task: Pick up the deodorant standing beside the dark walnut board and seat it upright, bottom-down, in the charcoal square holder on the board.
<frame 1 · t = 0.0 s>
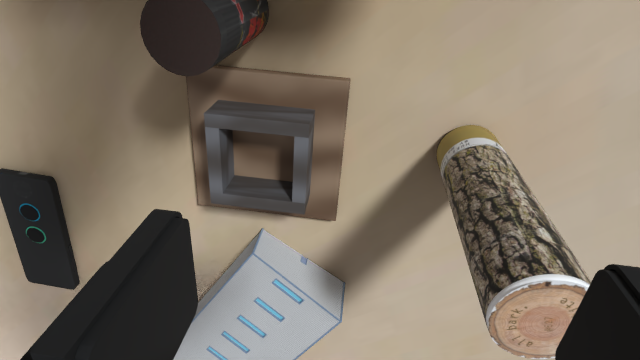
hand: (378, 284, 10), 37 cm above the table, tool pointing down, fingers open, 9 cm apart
deodorant: (241, 9, 42), on the table
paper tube: (465, 150, 47), on the table
holder: (268, 145, 49), on the table
warehouse: (250, 309, 64), on the table
smart home device: (46, 228, 61), on the table
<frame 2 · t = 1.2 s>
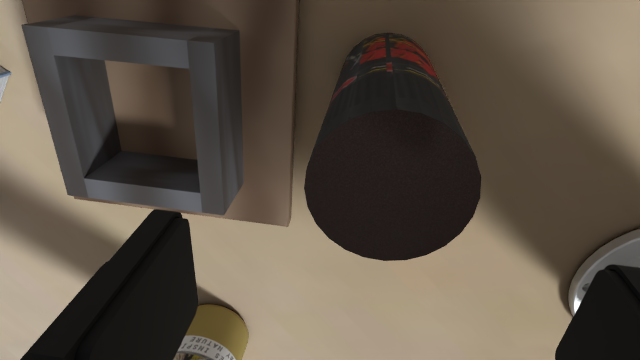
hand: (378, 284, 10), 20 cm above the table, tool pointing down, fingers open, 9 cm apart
deodorant: (385, 79, 27), on the table
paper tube: (218, 324, 41), on the table
holder: (173, 100, 30), on the table
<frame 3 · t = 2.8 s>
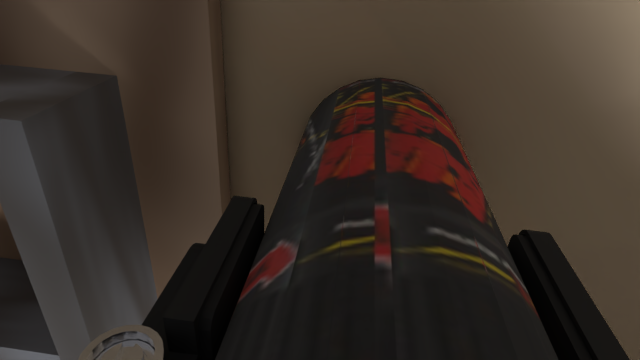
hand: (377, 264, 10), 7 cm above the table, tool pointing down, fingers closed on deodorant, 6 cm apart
deodorant: (376, 150, 16), on the table, touching gripper
holder: (37, 177, 19), on the table
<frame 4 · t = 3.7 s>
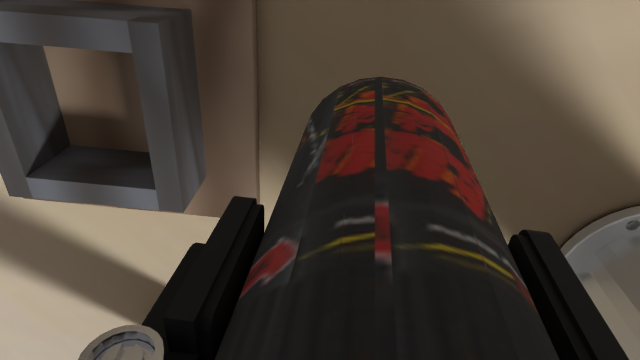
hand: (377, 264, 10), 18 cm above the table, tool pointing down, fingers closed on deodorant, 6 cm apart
deodorant: (376, 149, 16), point 11 cm above the table, touching gripper
holder: (124, 88, 27), on the table
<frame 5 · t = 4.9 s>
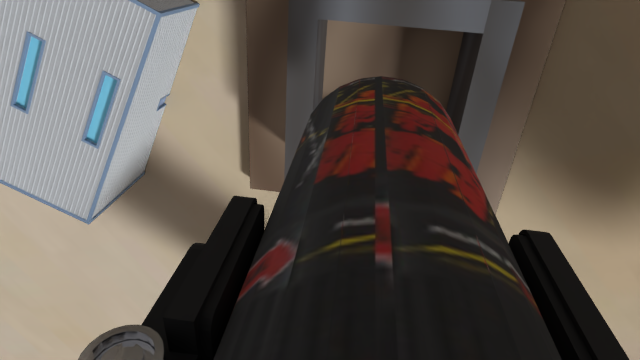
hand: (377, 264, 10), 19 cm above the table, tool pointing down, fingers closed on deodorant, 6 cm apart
deodorant: (377, 149, 16), point 12 cm above the table, touching gripper
holder: (386, 77, 27), on the table
when the fingers open (9 cm above the table, at t = 6.4 s): deodorant drops 1 cm, resting on holder.
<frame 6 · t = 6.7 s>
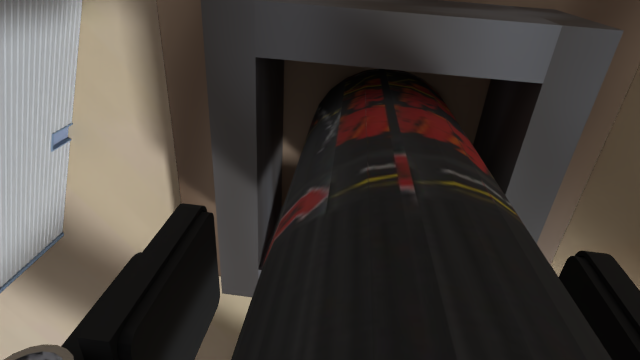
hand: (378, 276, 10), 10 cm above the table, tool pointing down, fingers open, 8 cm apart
deodorant: (379, 138, 17), point 1 cm above the table, touching holder
holder: (375, 127, 18), on the table
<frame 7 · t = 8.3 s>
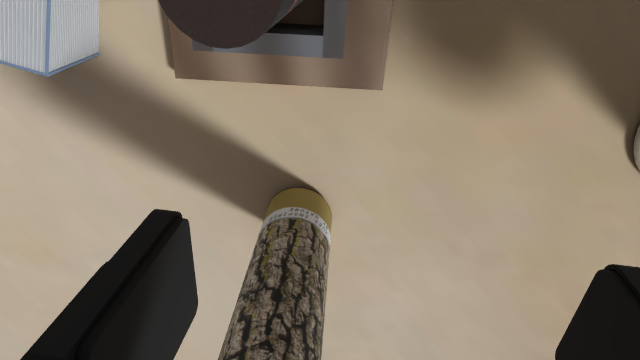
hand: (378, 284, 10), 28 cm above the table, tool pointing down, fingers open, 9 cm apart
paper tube: (300, 211, 43), on the table
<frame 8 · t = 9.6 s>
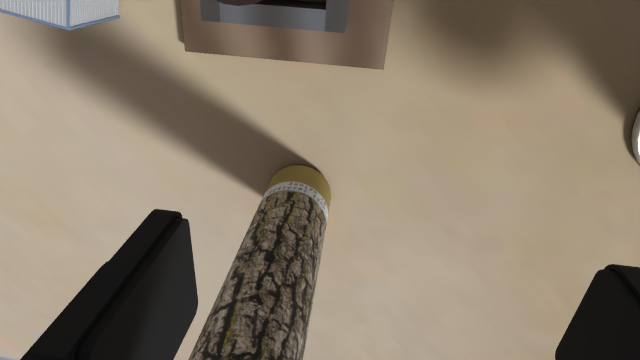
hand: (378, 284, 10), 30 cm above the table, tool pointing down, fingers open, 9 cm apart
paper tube: (300, 189, 44), on the table
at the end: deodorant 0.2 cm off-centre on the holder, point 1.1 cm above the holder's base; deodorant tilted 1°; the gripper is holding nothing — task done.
